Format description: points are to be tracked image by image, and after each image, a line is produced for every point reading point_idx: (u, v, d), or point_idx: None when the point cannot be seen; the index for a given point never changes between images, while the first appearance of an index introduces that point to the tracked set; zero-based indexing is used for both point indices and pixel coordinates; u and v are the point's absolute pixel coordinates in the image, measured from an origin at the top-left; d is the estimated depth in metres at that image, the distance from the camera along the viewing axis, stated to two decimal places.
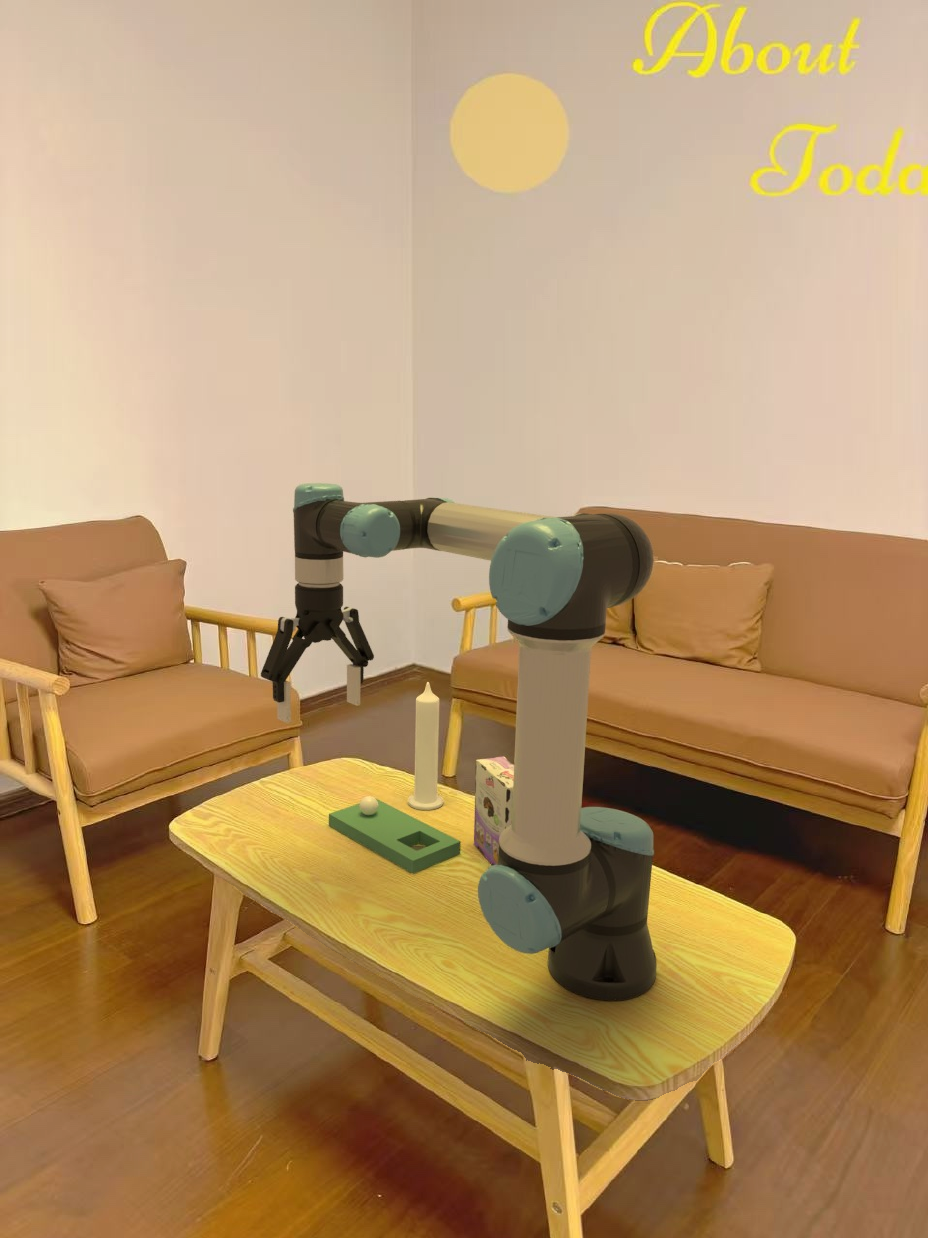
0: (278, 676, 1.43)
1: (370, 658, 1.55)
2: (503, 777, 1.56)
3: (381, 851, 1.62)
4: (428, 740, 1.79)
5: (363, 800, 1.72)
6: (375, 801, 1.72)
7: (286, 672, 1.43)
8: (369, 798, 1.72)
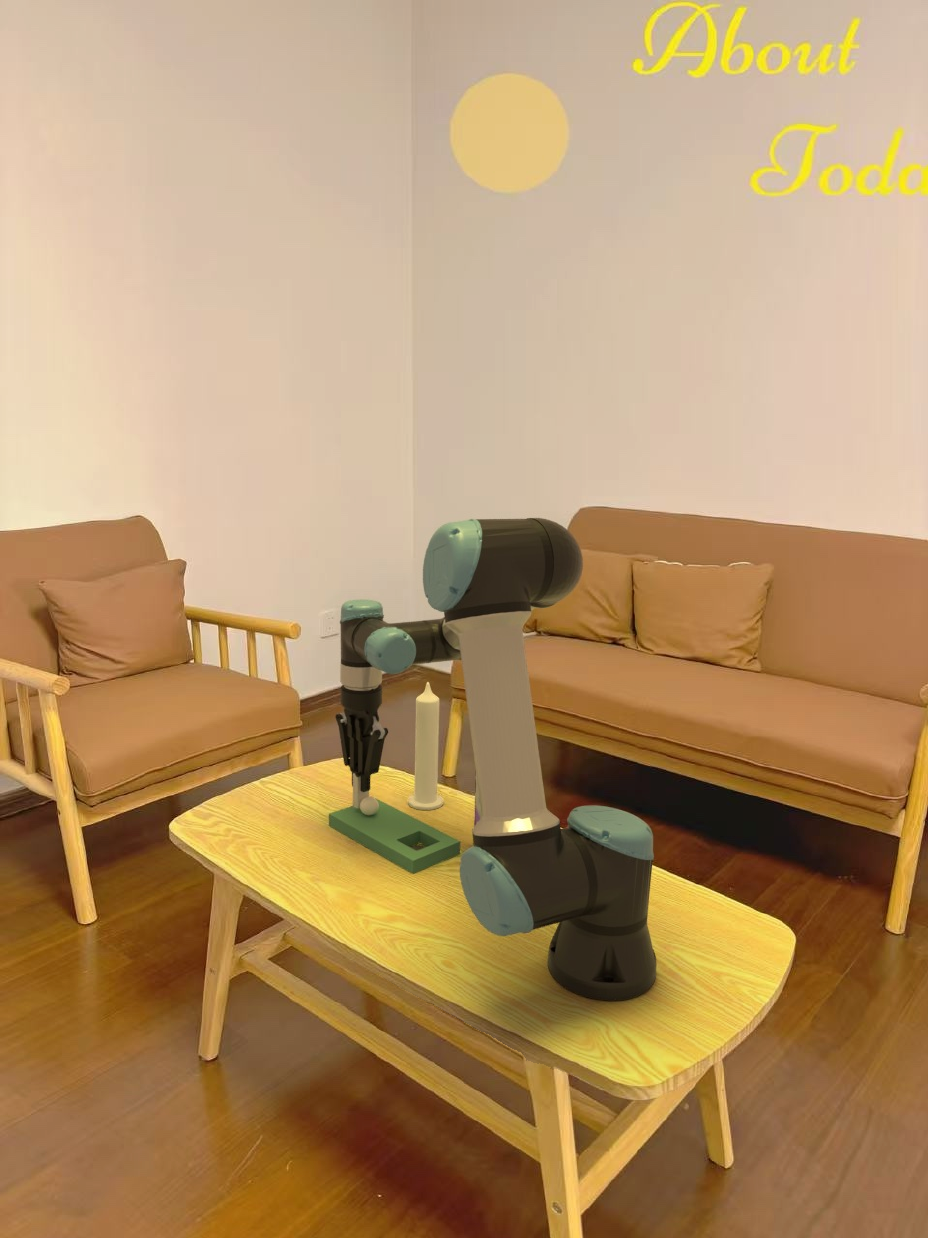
0: None
1: (365, 772, 1.70)
2: None
3: (381, 851, 1.62)
4: (428, 740, 1.79)
5: (364, 800, 1.72)
6: (376, 802, 1.72)
7: (351, 762, 1.73)
8: (370, 799, 1.72)
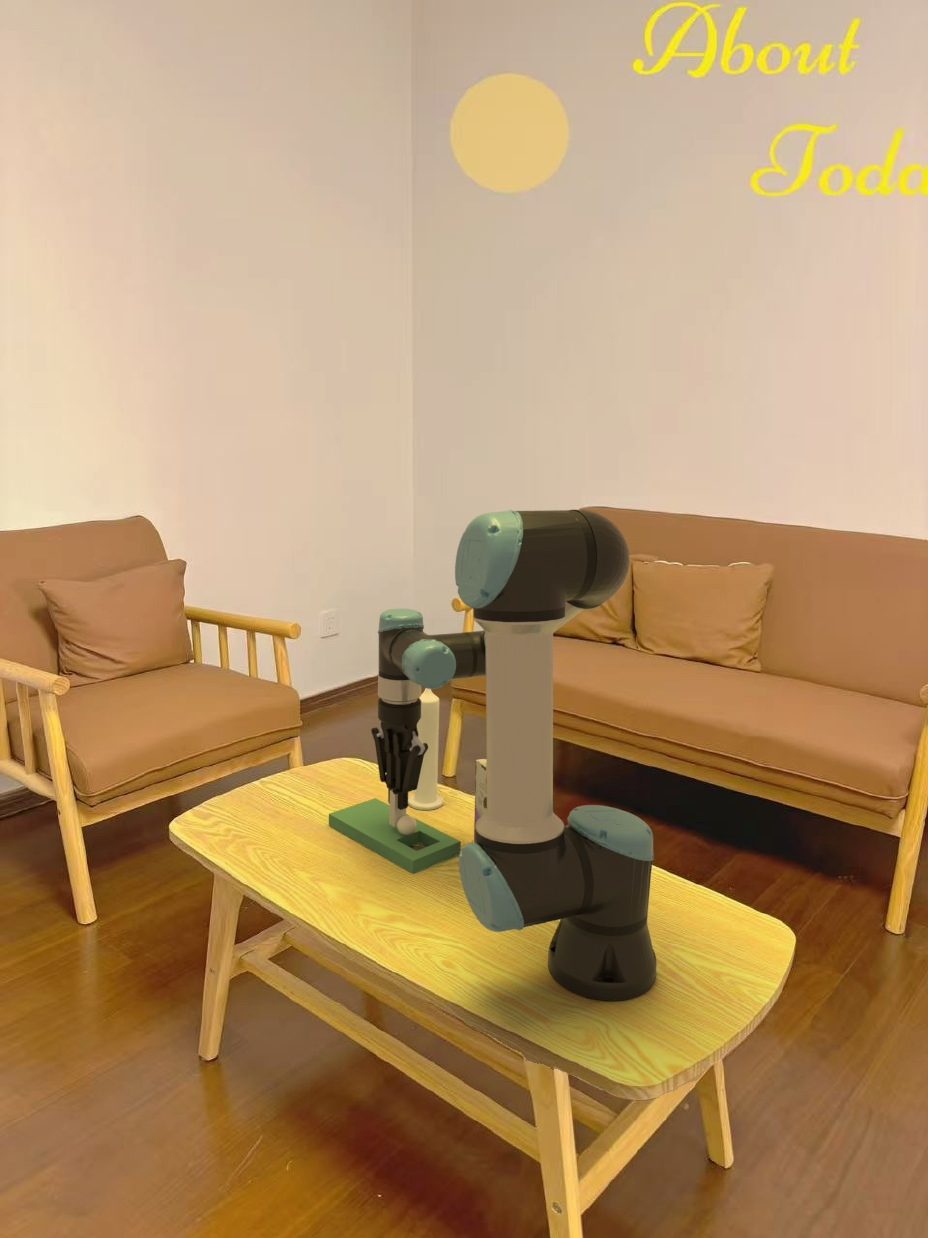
0: None
1: (403, 789, 1.62)
2: None
3: (381, 851, 1.62)
4: (428, 740, 1.79)
5: (397, 823, 1.65)
6: (407, 815, 1.66)
7: (388, 779, 1.65)
8: None
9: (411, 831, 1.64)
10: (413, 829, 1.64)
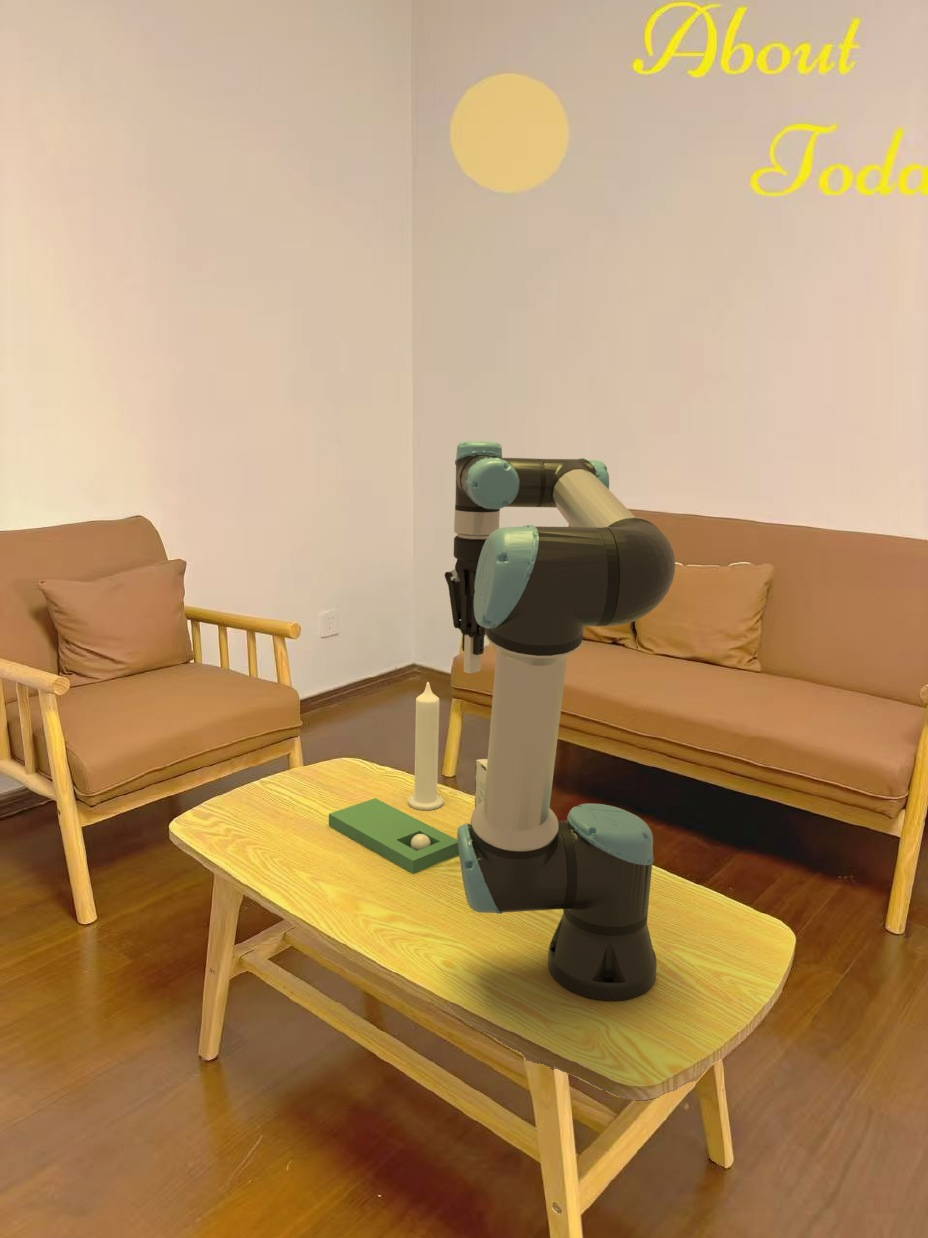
0: None
1: (480, 631, 1.56)
2: None
3: (381, 851, 1.62)
4: (428, 740, 1.79)
5: (420, 846, 1.61)
6: None
7: (463, 623, 1.59)
8: None
9: None
10: None
